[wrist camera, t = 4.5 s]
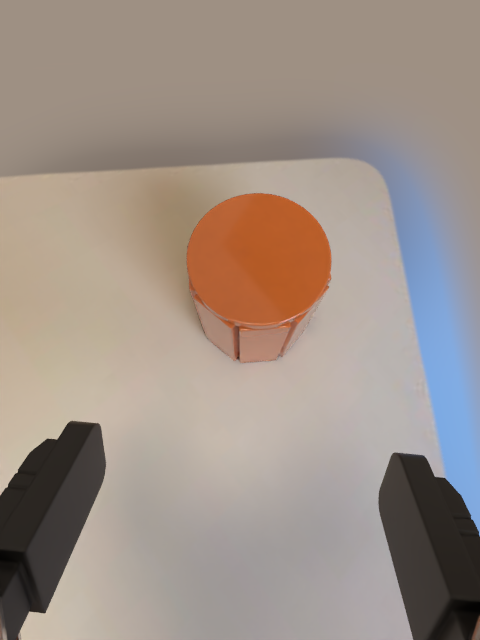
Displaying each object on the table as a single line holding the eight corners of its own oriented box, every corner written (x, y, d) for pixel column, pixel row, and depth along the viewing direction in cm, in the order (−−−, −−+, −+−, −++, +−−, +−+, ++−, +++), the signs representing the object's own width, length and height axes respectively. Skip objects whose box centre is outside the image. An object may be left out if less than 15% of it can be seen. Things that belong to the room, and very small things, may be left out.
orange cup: (324, 306, 25) (360, 247, 17) (260, 383, 24) (269, 356, 16) (247, 248, 26) (250, 168, 18) (182, 317, 25) (156, 263, 17)
